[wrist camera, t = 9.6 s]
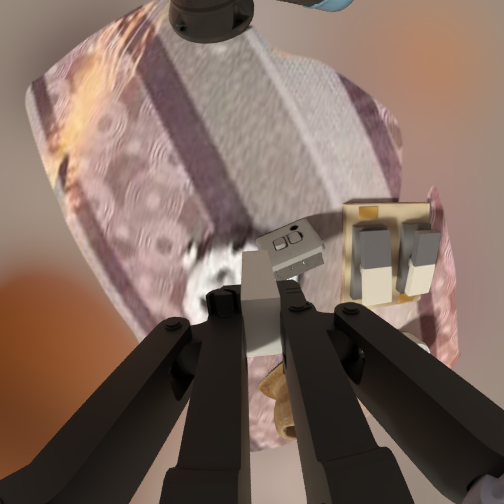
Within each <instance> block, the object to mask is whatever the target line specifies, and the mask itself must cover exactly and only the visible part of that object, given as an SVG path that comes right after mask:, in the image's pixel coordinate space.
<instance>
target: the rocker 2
mask: <svg viewBox="0 0 504 504" xmlns="http://www.w3.org/2000/svg"><path fill="white" fill-rule="evenodd" d="M440 236H441V232H439V231H437V230H421V231H415V236H414V243H413V249H412V256H411V258H410V259H409V260H408V265H409V273H408V278H407V283H406V287H405V293H406V294H407V295H408V296H414V295H419V294H424V293H429V289H430V285H431V281H432V277H433V273H434V268H435V263H436V258H437V253H438V248H439V242H440Z"/></svg>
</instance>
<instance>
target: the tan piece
mask: <svg viewBox="0 0 504 504" xmlns="http://www.w3.org/2000/svg"><path fill="white" fill-rule="evenodd" d="M259 389H260V391H261V392H262V393H263V394H265V395H266V396H268V397H270V398H272V399H275V400H276V403H275V408H274V422H275V426H276V430H277V433H278V434H279V435H280V436H281V437H282V438H285V439H290V440H297V438H296V432H295V426H294V421H293V415H292V409H291V404H290V398H289V393H288V387H287V382H286V376H285V374H283V363H281V364H280V365H279V366H278V367H277V368H275V369H274V370H273V371H272V372H271V373H270V374H269V375H268V376H266V377H265V378H264V379H263V380H262V382H261V383H260V384H259Z"/></svg>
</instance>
